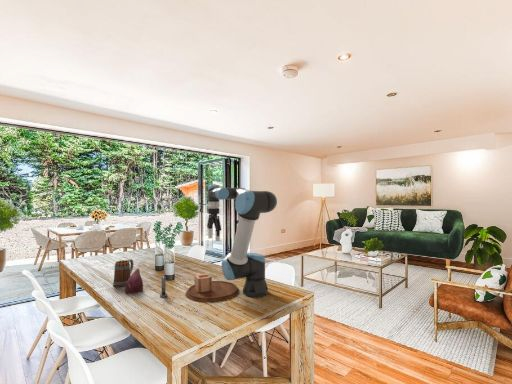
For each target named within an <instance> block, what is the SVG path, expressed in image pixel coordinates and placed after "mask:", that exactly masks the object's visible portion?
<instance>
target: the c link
mask: <svg viewBox="0 0 512 384" xmlns="http://www.w3.org/2000/svg"><path fill="white" fill-rule="evenodd" d="M212 281H213V276H212V275H209V273H203V274H196V275H194V285H195V290H196V291H197V292H198V293H201V292H206V291H211V290H212Z"/></svg>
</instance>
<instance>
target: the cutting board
mask: <svg viewBox="0 0 512 384" xmlns="http://www.w3.org/2000/svg"><path fill="white" fill-rule="evenodd" d="M237 294H238V295H239V294H240V288H239V287H238V286H237V285H236V284H234V283H233V282H229V281H227V280H226V281H225V280H224V281H223V280H212V290H211V291H206V292H201V293H198V292H197V291H196V290H195V284H192V285H191V286H189V288H188V289H187V290H186V292H185V297H186V298H187V300H191V302H192V301H193V302H198V303H206V304H207V302H209V303H210V302H211V303H220V302H225V301H228V300H227V299H229V300H230V298H231V299H233V298H235V297H236V295H237ZM238 295H237V296H238ZM234 296H235V297H234ZM232 297H233V298H232ZM224 300H225V301H224ZM219 301H220V302H219Z"/></svg>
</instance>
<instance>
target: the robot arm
mask: <svg viewBox="0 0 512 384" xmlns="http://www.w3.org/2000/svg"><path fill="white" fill-rule="evenodd" d="M220 200H235V203H234V207H235V208H234V209H235V212H237V215H238V216H239V218H238V223H237V227H236V232H235V235H234V239H233V243H232V248H231V251H230V252H229V253H227V254H228V255H227V257H226V259H223V260H222V261H221V271H222V274H223V276H224V278H225V279H226V281H235V280H239V279H244V278H245V281H244V285H243V288H242V294H243V295H244V296H247V297H249V298H251V297H252V298H260V297H259V296H261V297H264V296H263V295H265V296H266V294H267V293H268V294H269V288H268V285H267V282H266V257H265V255H263V254H262V253H258V252H257V253H256V252H248V250H249V246H250V242H251V238H252V234H253V231H254V227H255V224H256V221H258V220H259V218H260V215H261V214H267V213H270V212H273V210H275V209H276V207H277V204H278V199H277V196H276V195H275V194H274V193H273V192H271V191H267V190H251V189H246V188H245V187H222V186H220V185H218V184H210V185H208V187H207V208H208V209H207V214H208V220H207V224H206V228H207V232H208V233H207V234H208V235H207V236H208V239H213V226H214V228H215V229H214V233H215V237H214V239H215V242H220V241H221V240H220V239H221V238H220V237H221V235H220V231H222V226H221V225H222V224H221V221H220V215H218V214H220V208H221V207H220V202H221V201H220ZM268 294H267V295H268Z"/></svg>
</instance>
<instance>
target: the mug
mask: <svg viewBox="0 0 512 384" xmlns="http://www.w3.org/2000/svg"><path fill="white" fill-rule="evenodd" d="M133 270H134V260H133V259H131V258H129V259H125V260H124V259H123V260H117V261H115V263H114V271H113V272H114V275H113V281H112V284H113V286H114V287H116V288H120V287H121V288H123V287H126V284H127V281H128V279H129V278H130V276H131V275H132V272H133Z"/></svg>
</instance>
